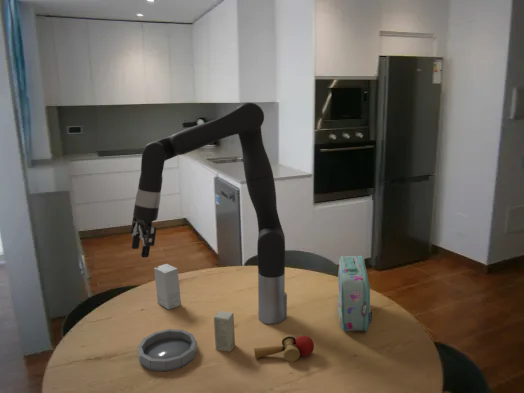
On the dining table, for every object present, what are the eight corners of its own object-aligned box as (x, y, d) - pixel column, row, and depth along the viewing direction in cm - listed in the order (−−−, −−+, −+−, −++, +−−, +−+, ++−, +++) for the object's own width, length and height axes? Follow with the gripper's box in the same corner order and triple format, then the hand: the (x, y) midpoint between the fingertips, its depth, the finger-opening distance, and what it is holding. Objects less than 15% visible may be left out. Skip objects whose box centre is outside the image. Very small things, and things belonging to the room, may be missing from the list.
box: (235, 344, 131) (234, 312, 128) (230, 352, 127) (229, 319, 124) (220, 341, 132) (219, 310, 130) (214, 349, 128) (213, 316, 126)
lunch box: (372, 340, 133) (376, 278, 128) (339, 338, 134) (342, 276, 129) (362, 301, 159) (365, 248, 154) (335, 300, 160) (337, 247, 155)
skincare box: (181, 305, 157) (179, 268, 153) (167, 310, 153) (165, 273, 149) (169, 298, 163) (167, 262, 159) (155, 303, 158) (153, 266, 155)
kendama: (257, 371, 120) (317, 359, 121) (254, 350, 120) (314, 338, 121) (255, 359, 128) (312, 348, 129) (252, 339, 127) (309, 328, 129)
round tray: (188, 333, 137) (188, 324, 137) (203, 361, 122) (202, 352, 121) (135, 345, 130) (134, 336, 130) (143, 377, 115) (142, 367, 114)
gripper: (167, 210, 128) (159, 259, 130) (149, 199, 139) (142, 245, 141) (144, 209, 124) (136, 260, 126) (127, 198, 135) (120, 245, 137)
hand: (139, 252), depth 134 cm, fingers open, 8 cm apart
